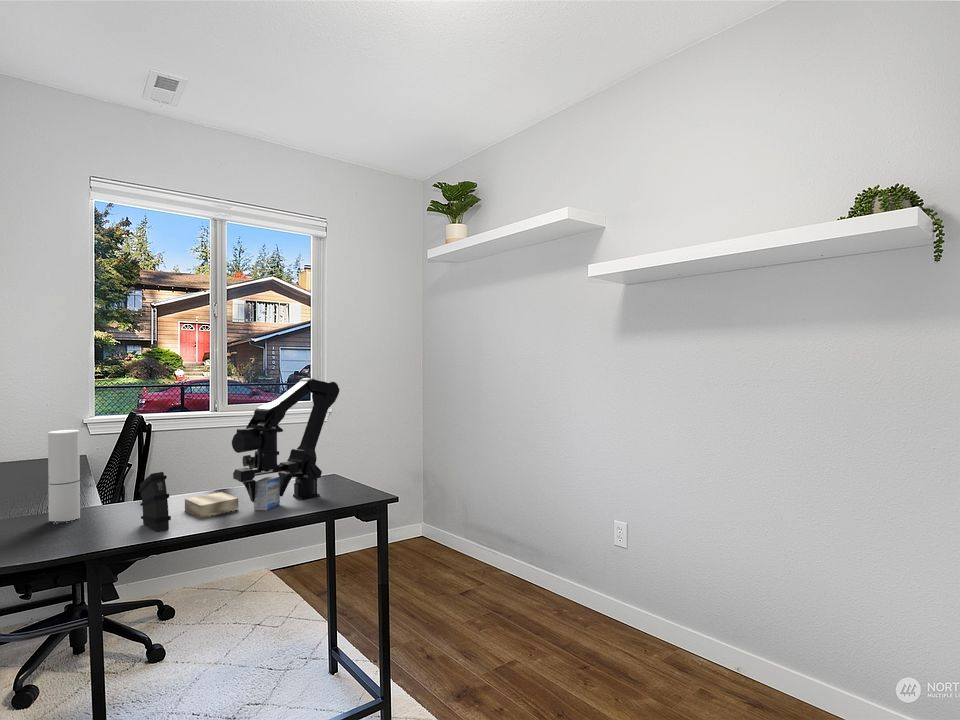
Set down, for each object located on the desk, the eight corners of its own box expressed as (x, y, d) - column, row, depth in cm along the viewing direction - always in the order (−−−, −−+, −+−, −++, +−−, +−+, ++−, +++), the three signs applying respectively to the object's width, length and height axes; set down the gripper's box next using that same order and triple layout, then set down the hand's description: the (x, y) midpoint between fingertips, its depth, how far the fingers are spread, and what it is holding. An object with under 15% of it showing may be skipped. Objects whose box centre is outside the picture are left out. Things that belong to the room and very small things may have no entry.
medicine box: (266, 511, 170) (266, 482, 170) (253, 510, 171) (252, 481, 170) (280, 504, 178) (280, 476, 177) (267, 503, 178) (267, 475, 178)
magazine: (159, 529, 147) (150, 473, 151) (144, 540, 155) (135, 487, 159) (175, 525, 150) (165, 471, 154) (159, 537, 158) (150, 485, 162)
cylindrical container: (77, 514, 166) (76, 428, 166) (82, 519, 161) (81, 431, 161) (46, 519, 161) (46, 431, 161) (51, 525, 156) (50, 434, 156)
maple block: (221, 504, 178) (221, 492, 178) (238, 511, 171) (238, 498, 171) (184, 512, 170) (184, 498, 170) (200, 519, 163) (200, 505, 163)
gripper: (282, 441, 186) (282, 489, 186) (224, 448, 172) (225, 500, 172) (300, 445, 179) (300, 495, 179) (241, 453, 165) (241, 506, 165)
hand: (267, 499), depth 174 cm, fingers closed on medicine box, 9 cm apart
